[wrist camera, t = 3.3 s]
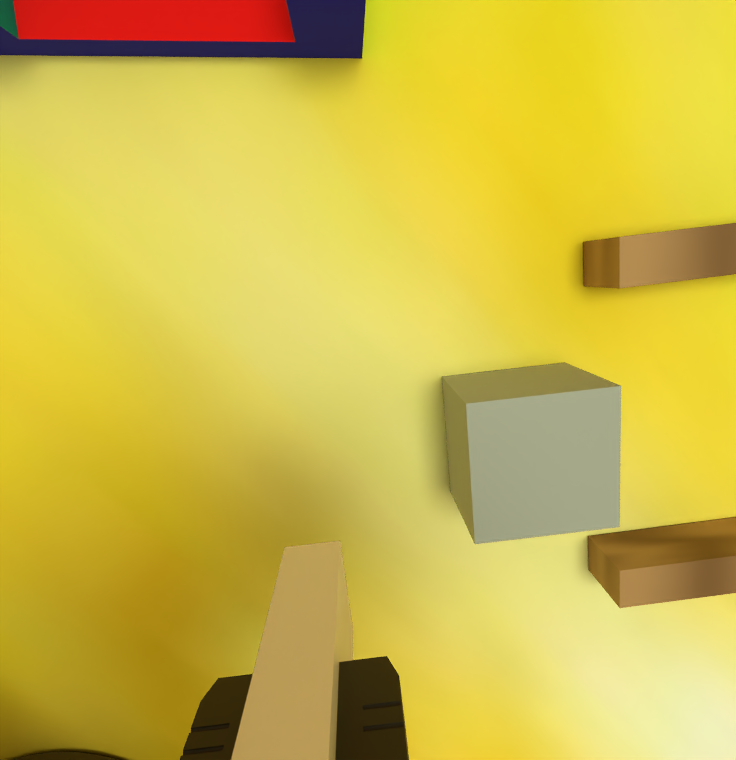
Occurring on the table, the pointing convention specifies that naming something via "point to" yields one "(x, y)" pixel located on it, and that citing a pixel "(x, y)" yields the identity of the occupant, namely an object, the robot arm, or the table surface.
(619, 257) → the channel rails
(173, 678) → the table surface
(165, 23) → the building blocks toy
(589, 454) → the block
